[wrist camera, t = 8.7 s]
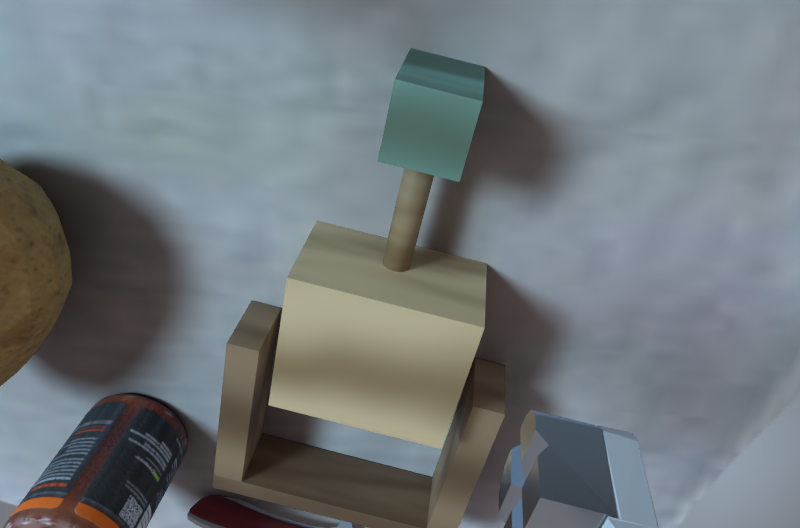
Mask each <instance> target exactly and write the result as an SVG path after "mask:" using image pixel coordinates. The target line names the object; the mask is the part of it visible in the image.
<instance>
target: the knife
mask: <svg viewBox="0 0 800 528" xmlns="http://www.w3.org/2000/svg"><path fill="white" fill-rule="evenodd" d="M187 516H188V520H190V521H191V522H193V523H194V524H196V525H198V526H200V527H202V528H331V527H317V526H311V525H306V524H303V523H299V522H296V521H293V520H289V519H286V518H283V517H280V516H277V515H274V514H272V513H269V512H266V511H264V510H262V509H260V508H258V507H255V506H253V505H251V504H249V503H247V502H245V501H243V500H241V499H235V498H229V497H224V496H217V495H211V496H207V497H205V498H203V499H201V500H200V501H198V502H197V503H196V504H195V505H194V506H193V507H192V508H191V509H190V511H189V513H188V514H187ZM332 528H353V527H352V523H349V522H346V521H342V520H341V521H340V523H339V525H338V526H337V527H332Z"/></svg>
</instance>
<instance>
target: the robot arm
mask: <svg viewBox="0 0 800 528" xmlns="http://www.w3.org/2000/svg"><path fill="white" fill-rule="evenodd" d="M520 443H521V444H520V445H518V446H516V447H514V448H512V449H511V451H510V453H509V456H508V458H507V461H506V464H505V467H504V471H503V475H502V479H501V484H500V493H499V513H500V515H501V516H502V518H503V519H504V521H505V523H506V524H505V526H504V528H659V527H658V523H657V518H656V514H655V510H654V506H653V502H652V498H651V494H650V490H649V485H648V481H647V477H646V473H645V469H644V465H643V461H642V457H641V453H640V448H639V444H638V440H637V438H636V437H635V436H634V434H633V433H629V432H625V431H621V430H616V429H612V428H608V427H603V426H595V425H592V424H588V423H584V422H580V421H576V420H572V419H567V418H563V417H559V416H555V415H551V414H547V413H543V412H538V411H534V410H530V411H529V412H528V414H527V415H526V416H525V419H524V421H523V423H522V425H521V427H520Z"/></svg>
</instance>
